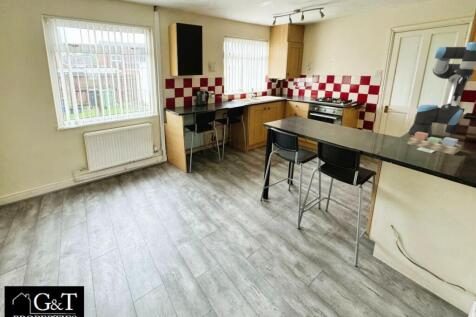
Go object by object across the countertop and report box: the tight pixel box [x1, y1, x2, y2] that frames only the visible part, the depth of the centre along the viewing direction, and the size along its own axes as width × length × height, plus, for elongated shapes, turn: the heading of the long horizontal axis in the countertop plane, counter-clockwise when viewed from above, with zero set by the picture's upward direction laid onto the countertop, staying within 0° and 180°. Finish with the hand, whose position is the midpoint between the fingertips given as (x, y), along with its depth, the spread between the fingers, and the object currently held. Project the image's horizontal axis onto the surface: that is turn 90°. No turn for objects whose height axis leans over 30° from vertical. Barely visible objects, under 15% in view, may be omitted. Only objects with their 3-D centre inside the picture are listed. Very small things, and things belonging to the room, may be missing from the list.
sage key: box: [427, 136, 443, 144], centre depth 164 cm, size 6×6×5 cm
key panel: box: [406, 135, 462, 156], centre depth 165 cm, size 26×12×4 cm, turn 37°
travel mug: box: [444, 107, 466, 134], centre depth 203 cm, size 8×8×20 cm
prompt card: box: [416, 147, 435, 154], centre depth 159 cm, size 8×6×1 cm
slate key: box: [442, 136, 459, 147], centre depth 158 cm, size 6×6×5 cm
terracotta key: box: [413, 132, 429, 141], centre depth 170 cm, size 6×6×5 cm
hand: (453, 105), depth 166 cm, fingers closed
